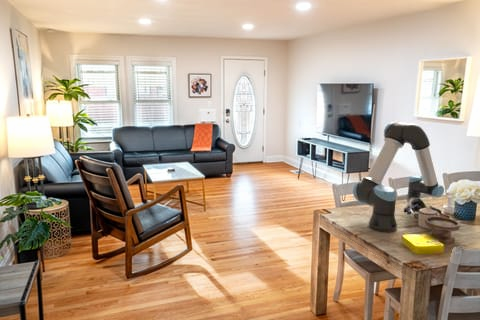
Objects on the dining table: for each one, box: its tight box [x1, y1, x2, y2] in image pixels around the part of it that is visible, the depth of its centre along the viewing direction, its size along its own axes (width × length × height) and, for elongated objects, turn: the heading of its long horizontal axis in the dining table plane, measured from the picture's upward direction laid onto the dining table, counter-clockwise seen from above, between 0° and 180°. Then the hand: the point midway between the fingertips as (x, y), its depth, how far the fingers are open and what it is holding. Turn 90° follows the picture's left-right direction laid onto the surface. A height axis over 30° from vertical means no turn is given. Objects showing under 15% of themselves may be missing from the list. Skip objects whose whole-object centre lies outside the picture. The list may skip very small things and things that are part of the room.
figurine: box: [442, 193, 455, 215], centre depth 238 cm, size 7×9×15 cm
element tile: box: [401, 233, 445, 255], centre depth 188 cm, size 15×15×5 cm
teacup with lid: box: [412, 205, 436, 229], centre depth 216 cm, size 12×9×12 cm
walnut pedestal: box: [425, 216, 461, 244], centre depth 198 cm, size 16×16×9 cm
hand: (425, 215), depth 213 cm, fingers open, 13 cm apart
